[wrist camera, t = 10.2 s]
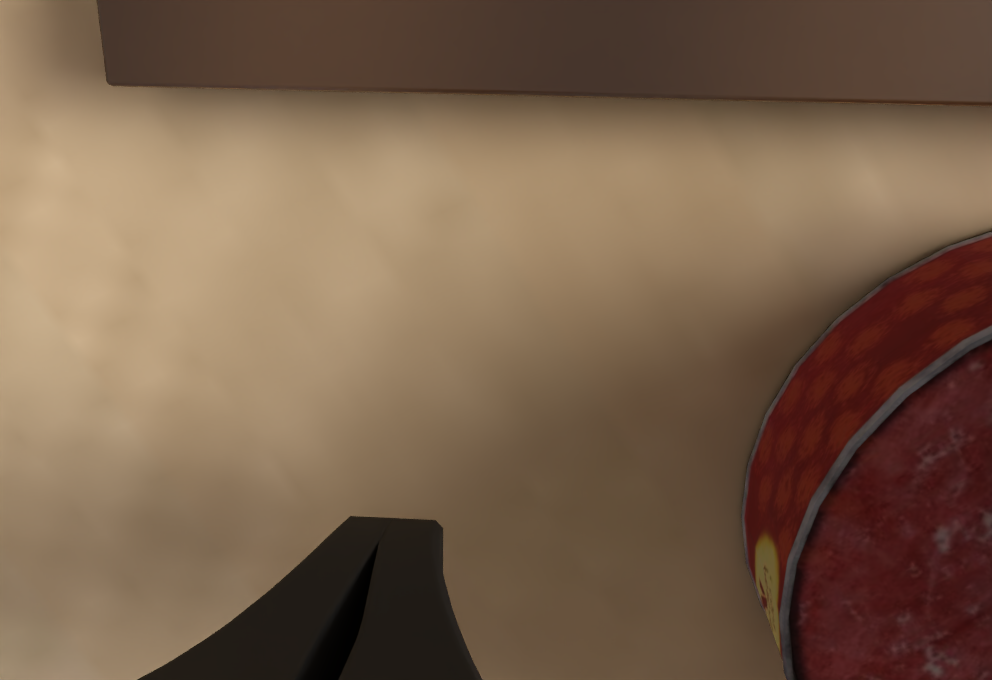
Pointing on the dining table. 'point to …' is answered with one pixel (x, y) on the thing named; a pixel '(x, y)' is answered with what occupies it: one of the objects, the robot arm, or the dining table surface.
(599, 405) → the dining table surface
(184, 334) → the dining table surface
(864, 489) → the canned food
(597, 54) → the lane
